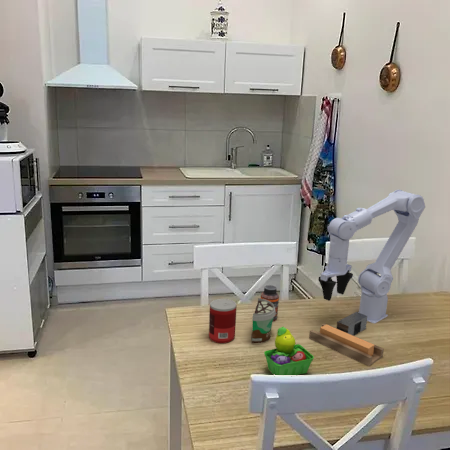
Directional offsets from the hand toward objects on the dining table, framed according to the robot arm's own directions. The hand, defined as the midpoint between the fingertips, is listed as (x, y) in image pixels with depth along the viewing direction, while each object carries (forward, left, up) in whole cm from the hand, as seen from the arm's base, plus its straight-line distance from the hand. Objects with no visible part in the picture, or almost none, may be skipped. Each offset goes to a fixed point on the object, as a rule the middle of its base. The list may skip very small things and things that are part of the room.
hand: (333, 296), depth 149 cm
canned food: (+34, -16, -10) cm, 39 cm away
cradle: (+11, +12, -9) cm, 19 cm away
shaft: (+11, +12, -8) cm, 18 cm away
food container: (+24, -8, -10) cm, 27 cm away
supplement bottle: (+14, -15, -10) cm, 23 cm away
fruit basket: (+33, +8, -10) cm, 35 cm away
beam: (+1, +8, -9) cm, 12 cm away
